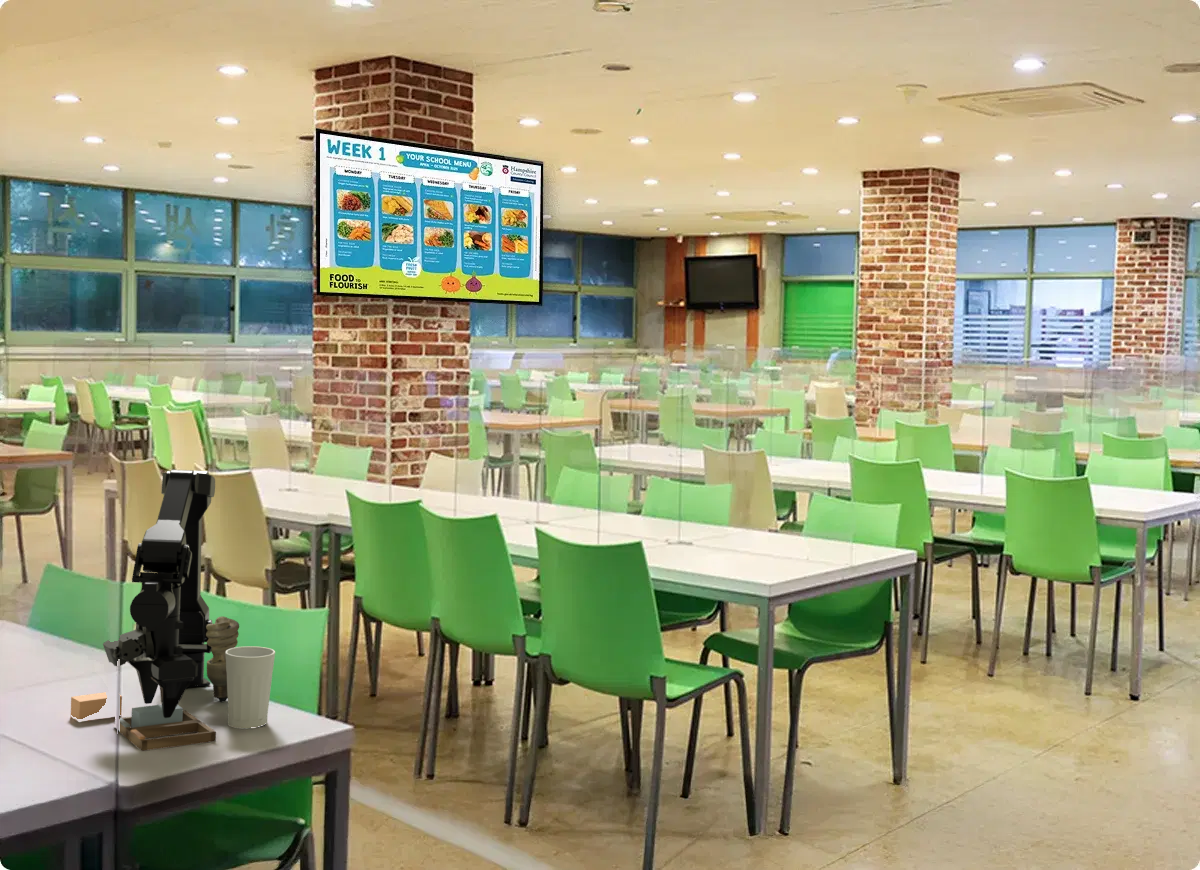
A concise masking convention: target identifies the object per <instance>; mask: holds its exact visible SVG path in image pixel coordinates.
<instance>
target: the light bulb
mask: <svg viewBox="0 0 1200 870" xmlns="http://www.w3.org/2000/svg"><path fill="white" fill-rule="evenodd" d="M239 628H240V624H239V622H238V621H237V620H235V619H233V618H228V617H226V616H222V615H221V616H218V617H217V618H216V619H215V622H214V623H213V624H207V626H206V629H207V630H208V631H207V633H206V636H207V637H208V638H209V639H208V641H207V642H206V644H207V645H208V646H211V647H212V649H211V651H212V652H211V654H212V657H211V658H210V659H208V660H207V661H206V676H207V680H208V681H209V682H210V684H212V687H213V689H212V690H213V699H218V701H219V702H220V703H224V702H227V701H228V693H227V671H226V654H225V652H226V650H228V649H231V648H236V647H237V645H238V642H239V641H238V637H239V636H240V635H239Z"/></svg>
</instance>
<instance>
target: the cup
mask: <svg viewBox="0 0 1200 870" xmlns="http://www.w3.org/2000/svg"><path fill="white" fill-rule="evenodd" d="M225 654H226V671H227V693H228V698H227V713H228V714H227V725H228V726H229V727H232V728H234V727H235V728H236V729H242V728H251V727H258V726H261V725H264V724H265V723H267V724H268V713H269V706H270V696H271V687H272V681H273V680H272V679H273V673H274V672H273V671H274V666H275V665H274V663H275V656H276V651H275V650H274V649H273V648H270V647H263V646H251V645H250V646H247V645H246V646H245V645H244V646H236V647H234V648H231V649H228V650H226V652H225ZM251 729H252V728H251Z"/></svg>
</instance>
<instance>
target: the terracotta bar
mask: <svg viewBox="0 0 1200 870" xmlns="http://www.w3.org/2000/svg"><path fill="white" fill-rule="evenodd" d="M106 692H107V691H105V692H99V693H98V692H97V693H90V694H83V695H75V696H71V698H70V716H71V715H72V716H73V717H76V718H77V719H83V718H85V717H87V716H89V715H92V714H94V713H97V712H99V710H100V709H101V708H102V706H104V705H105V703H106V699H107V695H106ZM119 695H120V715H121V716H122V710H123V709H122V708H123V707H122V706H123V696H122V695H121V694H119Z"/></svg>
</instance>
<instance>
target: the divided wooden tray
mask: <svg viewBox="0 0 1200 870" xmlns="http://www.w3.org/2000/svg"><path fill="white" fill-rule="evenodd" d="M119 718H120V732H119V734H120V735H122V736H123V737H124V738H126V739H127V740H128V741H129V742H131V744H133V746H135V747H136V748H137V749H139V750H140V751H141V752H143V751H150V750H158V749H159V750H160V749H166V748H173V747H175V748H176V747H182V746H183V747H184V746H188V745H195V744H206V743H211V742H216V740H217V732H216V731H215V730H214V729H213V728H211V727H210V726H208V725H207V724H206V723H204V722H203V721H202V720H200V719H198V718H197V717H196V716H194V715H193V714H191V713H190V712H189V711H187V710H183V718H182V722H174V723H166V724H158V725H150V726H141V727H133V728H131V720H132V716H126V717H119Z"/></svg>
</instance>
